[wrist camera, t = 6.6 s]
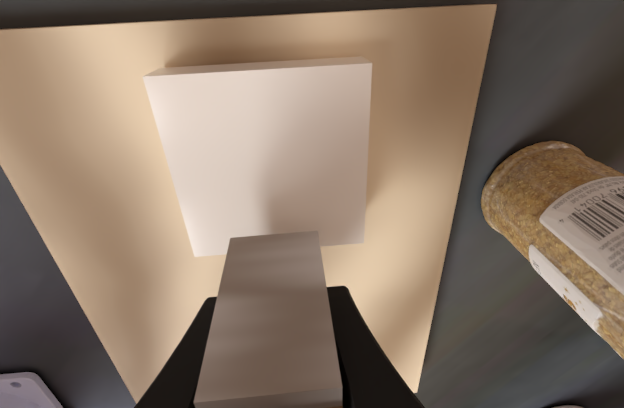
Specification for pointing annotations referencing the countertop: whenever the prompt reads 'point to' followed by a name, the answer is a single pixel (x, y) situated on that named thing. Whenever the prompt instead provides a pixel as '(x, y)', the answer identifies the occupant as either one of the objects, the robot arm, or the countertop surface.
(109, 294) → the board
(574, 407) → the drinking glass
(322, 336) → the tan wooden block
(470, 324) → the countertop surface
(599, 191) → the sprinkles bottle
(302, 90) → the tile
